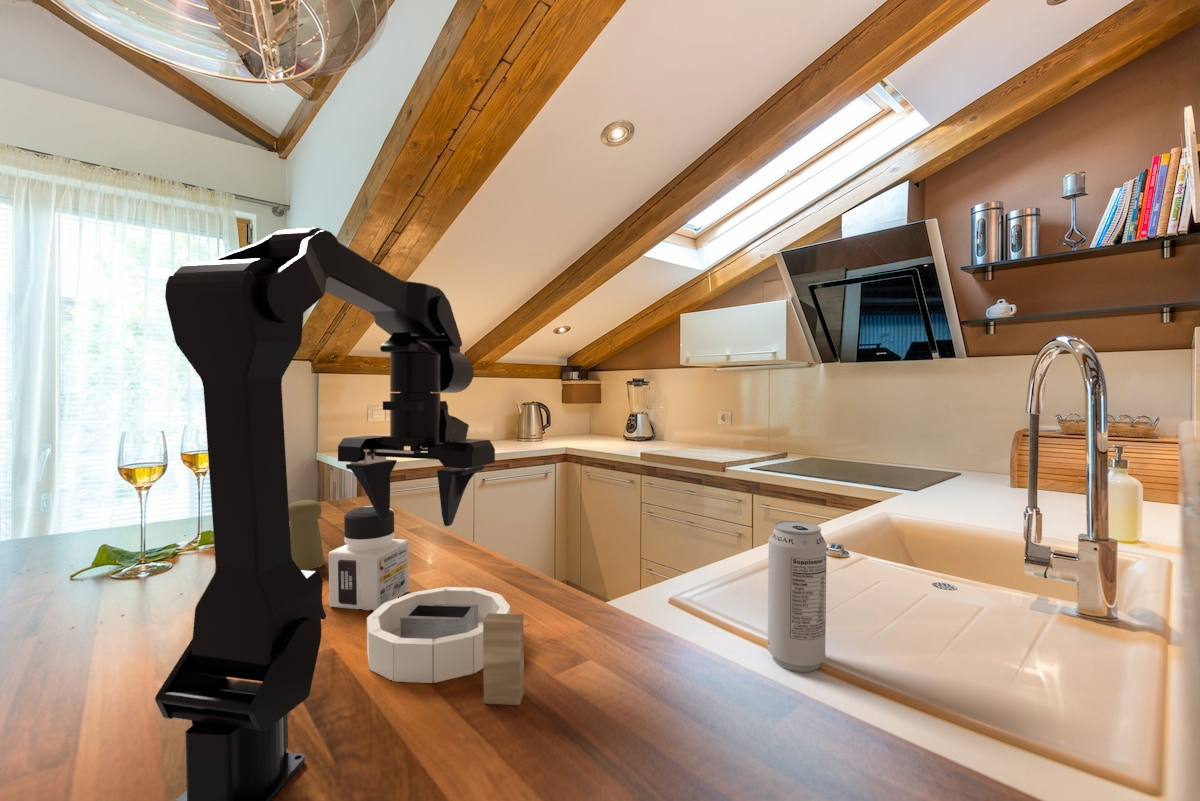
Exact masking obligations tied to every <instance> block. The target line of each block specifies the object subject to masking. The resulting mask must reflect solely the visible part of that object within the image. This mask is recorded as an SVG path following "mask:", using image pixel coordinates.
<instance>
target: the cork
mask: <svg viewBox="0 0 1200 801" xmlns="http://www.w3.org/2000/svg"><path fill="white" fill-rule="evenodd" d="M288 507H289V524H290V542H291V555H292V558H293V560H294V562H295V563H296V564H297V566H298V567H299V569H300V570H309V571H311V570H310V569H313V568H316V569H318V568H317V567H319V566H321V565H323V564H324V563H325V564H326V561H325V557H324V556H325V555H324V549H323V543H322V538H321V537H322V536H321V532H320V525H319V518H320V517H321V514H322V506H321V504H320V503H319V501H317V500H315V499H301V500H297V501H293V502H291V503H289V504H288ZM325 564H324V565H325ZM324 565H323V566H324ZM321 567H322V566H321ZM319 568H320V567H319ZM313 570H314V569H313Z"/></svg>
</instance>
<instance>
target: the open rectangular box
mask: <svg viewBox="0 0 1200 801" xmlns="http://www.w3.org/2000/svg"><path fill="white" fill-rule="evenodd" d="M400 622H401V638H421V639H436V638H441V637H446V636H451V635H457V634H462V633H467V632H470V631H472V630H474V629H476V628H478V605H463V604H429V603H415V604H414V605H413V606H412V607H411V608H410V609H409V610H408V611H407V612H406V613H405V614H404V615H403V616H402V617H401V618H400Z"/></svg>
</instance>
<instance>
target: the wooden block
mask: <svg viewBox="0 0 1200 801" xmlns="http://www.w3.org/2000/svg"><path fill="white" fill-rule="evenodd" d="M524 649H525V648H524V614H522V613H510V614H495V613H488V615H487V616H486V618H485V619H484V621H483V666H484V668H483V704H487V705H488V704H489V705H511V706H514V705H515V706H521V702H522V700H523V697H524V695H525V694H524V693H525V691H524V690H525V687H524V684H525V681H524V680H525V678H524V675H525V674H524V670H525V669H524V664H525V663H524V657H525V656H524Z"/></svg>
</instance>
